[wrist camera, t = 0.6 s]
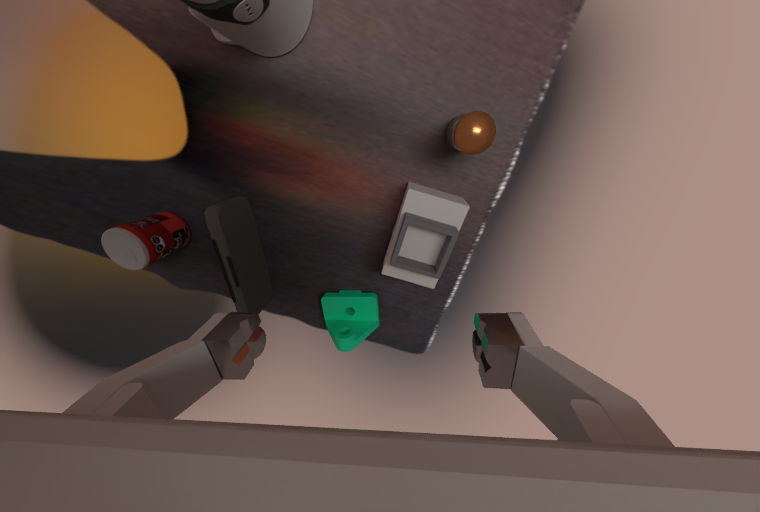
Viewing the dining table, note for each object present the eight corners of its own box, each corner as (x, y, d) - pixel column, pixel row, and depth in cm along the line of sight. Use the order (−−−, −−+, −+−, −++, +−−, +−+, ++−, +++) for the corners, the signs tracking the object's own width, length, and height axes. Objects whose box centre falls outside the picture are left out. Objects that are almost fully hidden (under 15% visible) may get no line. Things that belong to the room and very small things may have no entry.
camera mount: (377, 290, 57) (371, 320, 48) (380, 318, 61) (374, 352, 51) (323, 289, 59) (308, 319, 50) (328, 317, 62) (314, 350, 53)
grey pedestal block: (431, 272, 54) (435, 298, 46) (384, 259, 54) (379, 282, 46) (462, 197, 47) (473, 212, 39) (408, 181, 47) (408, 192, 39)
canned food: (182, 253, 58) (135, 278, 48) (149, 226, 56) (93, 247, 46) (199, 231, 55) (153, 253, 45) (165, 202, 53) (110, 219, 43)
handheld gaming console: (235, 195, 51) (198, 209, 42) (248, 194, 51) (214, 208, 42) (264, 295, 61) (239, 323, 52) (275, 295, 61) (252, 324, 52)
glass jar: (440, 126, 43) (448, 125, 34) (470, 108, 41) (487, 102, 32) (452, 155, 44) (464, 161, 35) (482, 139, 43) (501, 141, 34)
